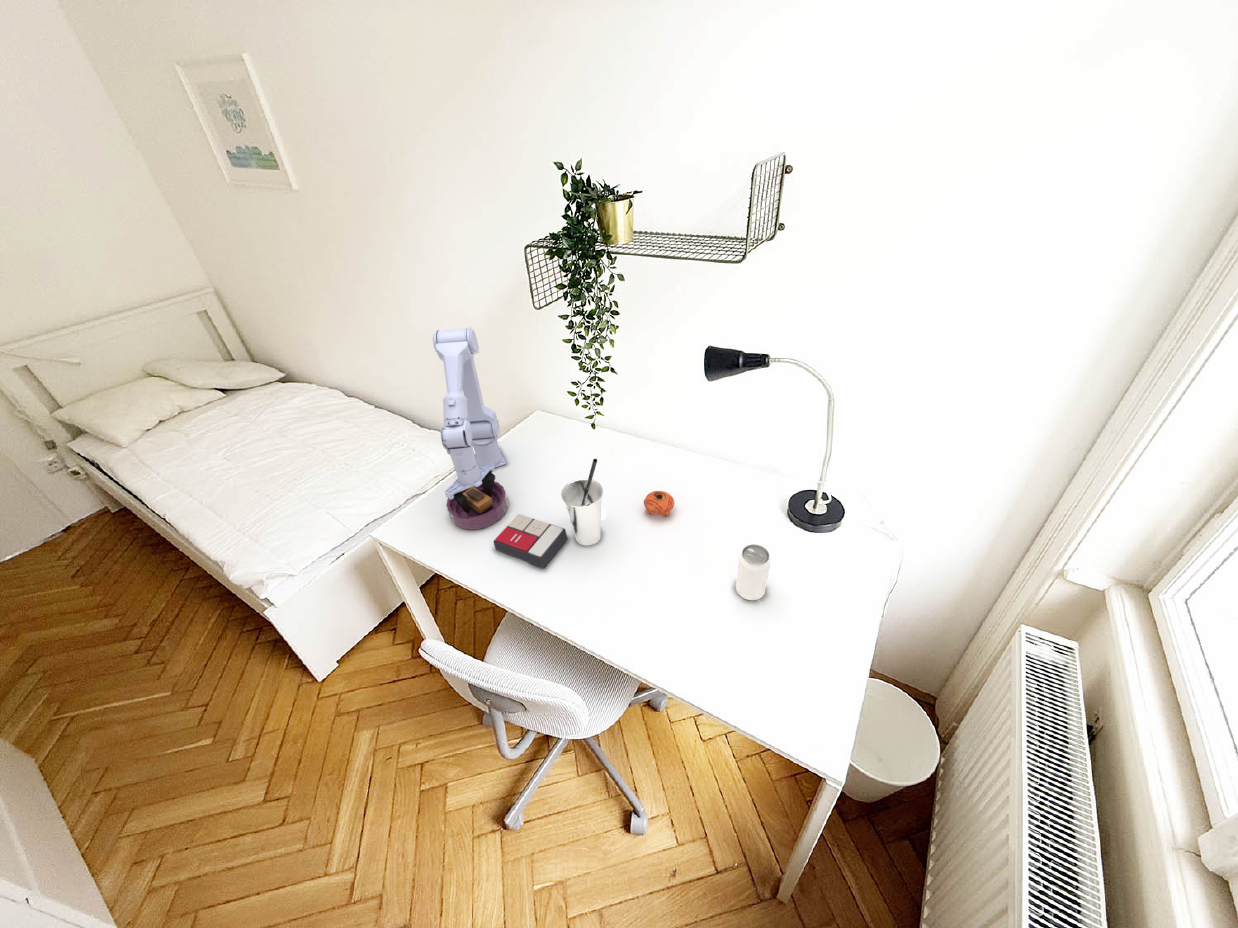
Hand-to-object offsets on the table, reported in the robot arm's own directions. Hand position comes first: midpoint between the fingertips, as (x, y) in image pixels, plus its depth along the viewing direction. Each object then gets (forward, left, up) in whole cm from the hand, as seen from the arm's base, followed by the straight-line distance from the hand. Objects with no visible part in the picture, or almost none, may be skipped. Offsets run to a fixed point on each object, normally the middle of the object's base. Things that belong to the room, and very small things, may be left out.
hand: (477, 503), depth 143 cm
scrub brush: (0, 0, -2) cm, 2 cm away
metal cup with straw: (+24, +23, -3) cm, 33 cm away
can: (+56, +49, -3) cm, 74 cm away
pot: (+24, +43, -3) cm, 49 cm away
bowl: (0, 0, -3) cm, 3 cm away
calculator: (+19, +9, -3) cm, 21 cm away
